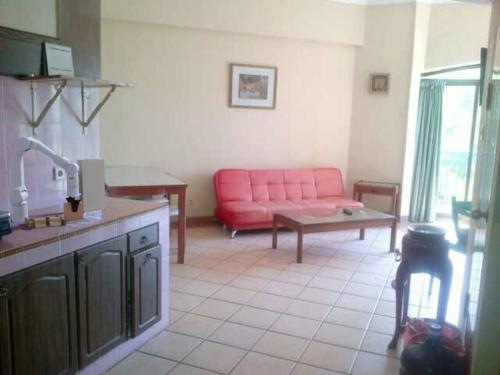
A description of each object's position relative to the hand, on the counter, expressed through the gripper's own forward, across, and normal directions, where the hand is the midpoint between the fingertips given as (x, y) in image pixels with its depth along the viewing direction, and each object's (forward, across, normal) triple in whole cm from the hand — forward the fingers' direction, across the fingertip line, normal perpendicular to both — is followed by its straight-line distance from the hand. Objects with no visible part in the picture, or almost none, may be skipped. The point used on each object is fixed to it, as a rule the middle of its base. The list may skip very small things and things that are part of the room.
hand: (73, 211), depth 239 cm
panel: (+4, 0, 0) cm, 4 cm away
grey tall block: (+5, +22, -17) cm, 28 cm away
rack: (+5, -4, +15) cm, 16 cm away
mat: (+5, 0, 0) cm, 5 cm away
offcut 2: (+4, -8, +12) cm, 15 cm away
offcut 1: (+4, -8, +18) cm, 21 cm away
